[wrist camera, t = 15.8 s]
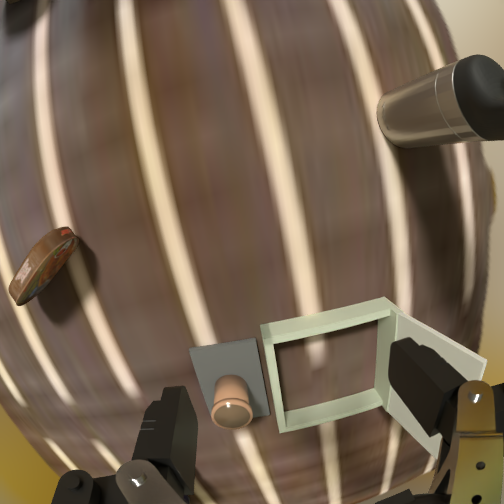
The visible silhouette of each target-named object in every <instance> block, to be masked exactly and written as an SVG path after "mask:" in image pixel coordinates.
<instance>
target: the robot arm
mask: <svg viewBox="0 0 504 504" xmlns="http://www.w3.org/2000/svg"><path fill="white" fill-rule="evenodd" d="M377 119H378V122H379V126H380V128H381V130H382V132H383V133H384V135H385V136H386V137H387V138H388V140H389V141H390V142H392V143H393V144H395V145H396V146H399V147H401V148H416V147H425V146H434V145H444V144H455V143H467V142H478V141H495V140H504V70H503V69H502V67H500V65H498V63H496V62H495V61H494V60H492V59H491V58H489V57H487V56H484V55H472V56H469V57H467V58H464V59H462V60H459V61H456V62H454V63H452V64H449V65H447V66H445V67H442V68H440V69H438V70H435V71H433V72H431V73H428V74H426V75H424V76H422V77H419V78H417V79H415V80H413V81H410V82H408V83H406V84H404V85H402V86H400V87H397V88H395V89H393V90H391V91H389V92H387V93H385V94H384V95H383V96H382V97H381V99H380V100H379V103H378V106H377ZM388 379H389V382H390V385H391V386H392V388H393V389H394V390H395V392H396V393H397V394H398V396H399V397H400V398H401V400H402V401H403V402H404V404H405V405H406V406H407V408H408V409H409V410H410V412H411V413H412V414H413V416H414V417H415V419H416V420H417V421H418V423H419V424H420V425H421V427H422V428H423V429H424V431H425V432H426V434H427V435H428V436H429V438H430V437H432V436H434V435H436V434H438V433H440V434H441V435H442V438H441V441H440V447H439V453H438V459H437V464H436V469H435V474H434V478H433V481H432V484H431V487H430V489H429V492H428V493H427V494H417V495H412V493H411V491H410V490H409V489H407V490H405V491H403V492H401V493H398V494H396V495H394V496H391V497H389V498H386V499H384V500H381V501H378V502H377V503H375V504H500V503H501V494H502V482H503V457H504V383H502V384H499V385H495V386H489V384H487V383H485V382H483V381H480V380H471V381H468V380H466V379H465V378H464V377H463V376H462V375H461V374H460V373H459V372H458V371H457V370H456V369H455V368H454V367H452V366H451V365H450V364H449V363H447V362H446V360H445V359H444V358H443V357H441V356H440V355H439V354H438V353H437V352H436V351H435V350H434V349H432V348H430V347H427V346H425V345H420V346H419V345H418V344H417V343H416V342H415V341H414V340H413V339H412V338H411V337H406V338H403V339H400V340H398V341H395V342H392V343H391V346H390V356H389V367H388ZM197 435H198V421H197V416H196V413H195V411H194V408H193V405H192V403H191V400H190V398H189V395H188V392H187V390H186V388H185V386H175V387H165V388H164V389H163V393H162V397H161V401H153V402H152V403H151V405H150V406H149V407H148V408H147V409H146V411H145V414H144V418H143V422H142V425H141V430H140V432H139V435H138V439H137V442H136V446H135V450H134V453H133V457H132V460H131V461H129V462H127V463H125V464H123V465H122V466H121V467H120V468H119V469H118V471H117V473H116V474H115V475H111V476H106V477H100V478H92V477H91V476H90V474H88V473H87V472H85V471H83V470H72V471H69V472H67V473H65V474H64V475H63V476H62V477H61V478H60V480H59V482H58V485H57V488H56V491H55V494H54V497H53V500H52V503H51V504H186V503H185V502H184V501H183V498H184V495H194V479H195V463H196V448H197Z"/></svg>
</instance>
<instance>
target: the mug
mask: <svg viewBox="0 0 504 504" xmlns="http://www.w3.org/2000/svg"><path fill="white" fill-rule="evenodd" d="M6 1H7V2H8V3H9V4H12V3H14V2H17V1H20V0H6Z"/></svg>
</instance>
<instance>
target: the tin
mask: <svg viewBox="0 0 504 504" xmlns="http://www.w3.org/2000/svg"><path fill="white" fill-rule="evenodd" d="M78 243H79V239H78V238H77V237H76V236H75V234H74V233H73V232H72V230H71V229H70V228H69V227H61V228H58V229H54V230H52V231H51V232H49V233H48V234H46V235H45V236H44V237H42V238H41V239H40V240H39V241H38V242H37V243H36V244H35V246H34V247H33V248H32V249H31V251H30V252H29V254H28V255H27V257H26V258H25V260H24V261H23V263H22V265H21V266H20V268H19V269H18V271H17V273H16V274H15V276H14V278H13V280H12V281H11V283H10V285H9V293H10V295H11V296H12V298H13V299H14V301H15V302H16V305H17V306H22V305H24V304H26V303H27V302H29V301H30V300H32V299H33V298H34V297H35V296H37V295H38V294H39V293H40V292H41V291H42V290H43V289H44V288H45V287H46V286H47V285H48V284H49V282H50V281H51V280H52V278H53V277H54V276H55V274H56V273H57V272H58V271H59V269H60V268H61V267H62V265H63V264H64V263H65V262H66V261H67V259H68V258H69V257H70V256H71V254H72V253H73V252H74V250H75V249H76V247H77V246H78Z"/></svg>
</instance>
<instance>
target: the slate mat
mask: <svg viewBox="0 0 504 504" xmlns="http://www.w3.org/2000/svg"><path fill="white" fill-rule="evenodd" d="M189 352H190V356H191V359H192V362H193V365H194V368H195V371H196V374H197V377H198V380H199V383H200V386H201V389H202V392H203V395H204V398H205V401H206V404H207V407H208V409H209V412H210V415H211V412H212V407H213V405H214V387H215V383H216V381H217V380H218V379H219V378H220V377H222V376H225V375H237V376H240V377H242V378H243V379H244V380H245V381H246V383H247V388H248V397H249V405H250V406H251V408H252V413H253V418H254V417H260V416H266V415H270V412H269V407H268V402H267V397H266V391H265V386H264V381H263V376H262V370H261V365H260V360H259V354H258V349H257V344H256V338H250V339H245V340H239V341H233V342H227V343H220V344H214V345H207V346H200V347H193V348H189ZM211 418H212V417H211ZM213 423H214V422H213Z"/></svg>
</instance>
